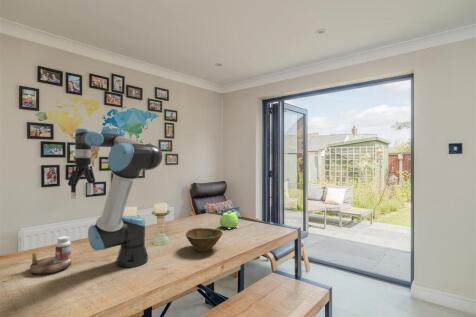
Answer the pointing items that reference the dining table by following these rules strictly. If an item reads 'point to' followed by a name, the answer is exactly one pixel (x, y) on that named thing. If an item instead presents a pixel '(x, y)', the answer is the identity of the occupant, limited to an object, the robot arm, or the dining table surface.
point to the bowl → (203, 238)
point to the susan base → (52, 272)
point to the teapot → (229, 219)
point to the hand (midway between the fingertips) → (82, 196)
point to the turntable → (47, 265)
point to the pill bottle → (63, 249)
